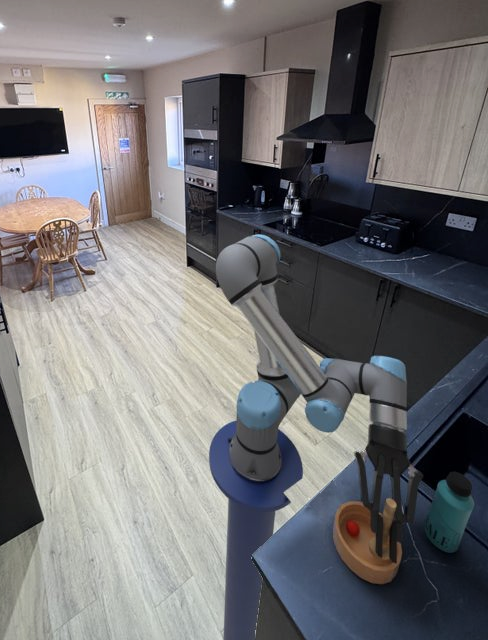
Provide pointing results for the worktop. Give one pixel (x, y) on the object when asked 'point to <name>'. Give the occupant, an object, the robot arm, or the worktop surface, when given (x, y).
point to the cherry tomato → (352, 528)
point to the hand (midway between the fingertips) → (385, 557)
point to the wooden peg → (384, 531)
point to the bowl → (361, 545)
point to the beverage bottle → (449, 512)
